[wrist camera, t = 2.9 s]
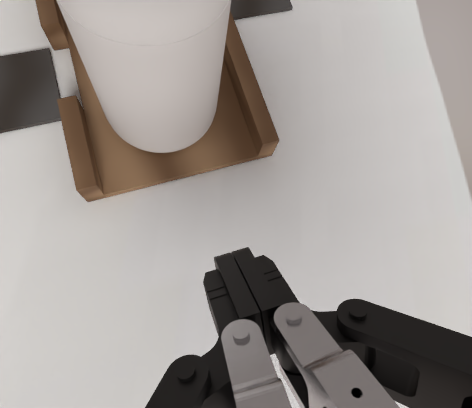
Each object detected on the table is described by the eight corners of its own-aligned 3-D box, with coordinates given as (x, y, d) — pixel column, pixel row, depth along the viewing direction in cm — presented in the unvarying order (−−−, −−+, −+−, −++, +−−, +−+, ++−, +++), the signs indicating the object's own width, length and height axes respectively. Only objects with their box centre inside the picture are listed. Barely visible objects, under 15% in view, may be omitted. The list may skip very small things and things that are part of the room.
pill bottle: (203, 168, 25) (216, -20, 11) (90, 141, 25) (-49, -91, 11) (227, 75, 28) (264, -178, 13) (125, 49, 27) (49, -240, 13)
